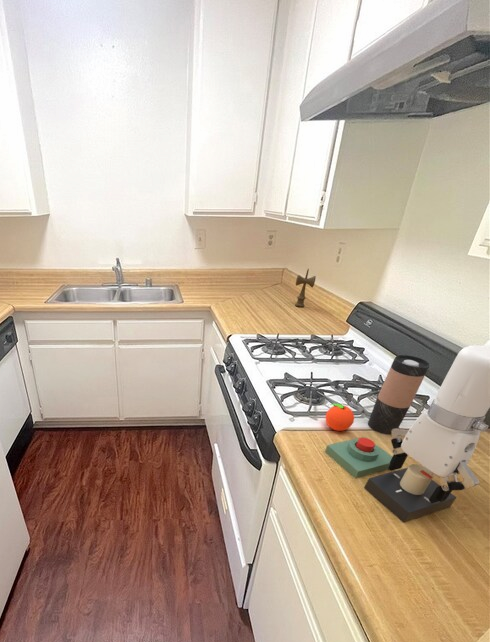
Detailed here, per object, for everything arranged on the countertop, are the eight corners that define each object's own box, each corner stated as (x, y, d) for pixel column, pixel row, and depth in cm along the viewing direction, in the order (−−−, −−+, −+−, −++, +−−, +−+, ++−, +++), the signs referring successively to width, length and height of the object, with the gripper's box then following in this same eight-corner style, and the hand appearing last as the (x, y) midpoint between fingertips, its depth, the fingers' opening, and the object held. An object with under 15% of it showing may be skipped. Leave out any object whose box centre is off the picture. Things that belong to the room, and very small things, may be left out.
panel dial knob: (394, 482, 73) (404, 465, 71) (410, 478, 74) (419, 461, 72) (413, 497, 70) (423, 479, 67) (429, 492, 71) (439, 475, 68)
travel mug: (403, 434, 93) (438, 366, 82) (378, 436, 92) (410, 368, 81) (384, 418, 100) (414, 354, 89) (360, 420, 98) (387, 355, 87)
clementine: (313, 424, 96) (320, 402, 92) (327, 416, 100) (335, 395, 96) (340, 439, 91) (349, 416, 87) (354, 430, 94) (363, 408, 90)
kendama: (308, 308, 193) (318, 270, 181) (290, 306, 195) (298, 268, 184) (308, 305, 197) (317, 268, 186) (290, 303, 200) (299, 266, 189)
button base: (362, 443, 90) (367, 430, 87) (394, 467, 82) (401, 454, 80) (324, 451, 86) (329, 439, 84) (355, 478, 78) (361, 465, 76)
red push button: (364, 442, 84) (366, 436, 83) (376, 451, 81) (378, 445, 80) (352, 444, 83) (354, 439, 82) (364, 454, 80) (366, 448, 79)
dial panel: (407, 475, 80) (413, 465, 78) (449, 507, 72) (457, 496, 70) (363, 488, 76) (368, 477, 74) (403, 523, 68) (410, 512, 66)
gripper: (521, 439, 56) (468, 510, 66) (425, 389, 70) (392, 454, 79) (490, 447, 54) (439, 520, 64) (397, 394, 68) (367, 461, 77)
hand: (413, 483), depth 72 cm, fingers open, 9 cm apart
